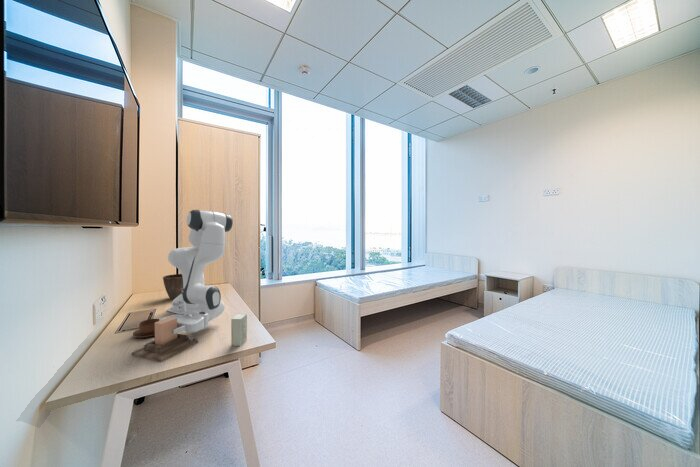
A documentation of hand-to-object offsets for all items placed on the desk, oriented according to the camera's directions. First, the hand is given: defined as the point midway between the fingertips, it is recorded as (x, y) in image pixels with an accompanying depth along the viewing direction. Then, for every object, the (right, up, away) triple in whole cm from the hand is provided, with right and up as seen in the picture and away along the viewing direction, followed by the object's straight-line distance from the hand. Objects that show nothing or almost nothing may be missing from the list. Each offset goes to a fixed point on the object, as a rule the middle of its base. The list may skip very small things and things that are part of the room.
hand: (164, 330), depth 102 cm
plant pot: (-45, -5, +70) cm, 83 cm away
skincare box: (+29, -8, +7) cm, 31 cm away
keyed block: (0, -7, +1) cm, 7 cm away
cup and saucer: (-18, -8, +14) cm, 24 cm away
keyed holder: (0, -8, +1) cm, 8 cm away
